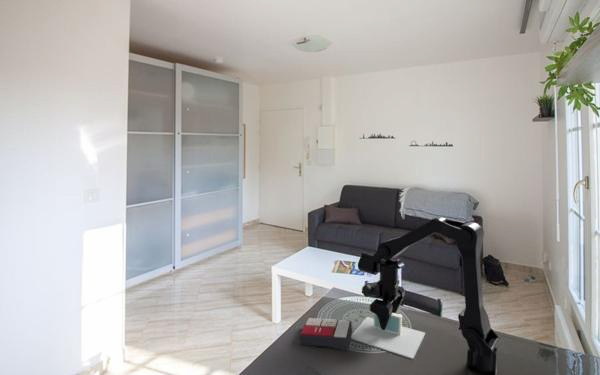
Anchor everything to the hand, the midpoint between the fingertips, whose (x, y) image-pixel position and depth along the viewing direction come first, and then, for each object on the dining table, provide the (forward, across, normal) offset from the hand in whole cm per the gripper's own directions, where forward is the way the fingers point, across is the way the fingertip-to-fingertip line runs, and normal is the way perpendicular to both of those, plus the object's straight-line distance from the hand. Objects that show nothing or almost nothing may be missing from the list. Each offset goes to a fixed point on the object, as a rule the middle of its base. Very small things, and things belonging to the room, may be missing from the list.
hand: (387, 323), depth 107 cm
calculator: (+3, +15, -15) cm, 21 cm away
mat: (+3, +3, +1) cm, 4 cm away
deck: (+2, 0, 0) cm, 2 cm away
